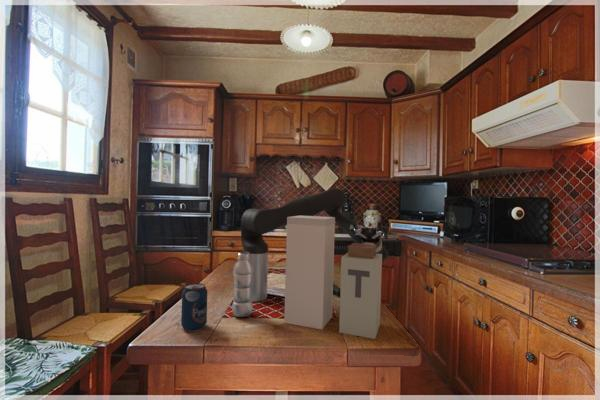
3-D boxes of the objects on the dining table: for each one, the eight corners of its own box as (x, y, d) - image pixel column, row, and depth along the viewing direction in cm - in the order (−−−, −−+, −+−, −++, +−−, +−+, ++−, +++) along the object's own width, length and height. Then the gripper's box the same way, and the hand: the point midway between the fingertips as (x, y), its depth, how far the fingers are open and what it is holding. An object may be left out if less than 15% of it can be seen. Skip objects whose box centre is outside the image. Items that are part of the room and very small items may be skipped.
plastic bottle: (235, 321, 98) (236, 255, 98) (229, 313, 104) (230, 251, 104) (255, 317, 101) (257, 254, 101) (248, 310, 107) (250, 250, 107)
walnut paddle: (359, 247, 109) (359, 238, 109) (380, 249, 107) (380, 240, 107) (347, 256, 93) (348, 246, 93) (372, 258, 90) (373, 248, 90)
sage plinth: (347, 319, 102) (349, 251, 102) (379, 324, 99) (382, 253, 98) (339, 332, 92) (341, 256, 92) (375, 339, 88) (377, 260, 88)
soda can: (197, 334, 88) (198, 290, 88) (175, 330, 90) (176, 287, 90) (211, 324, 95) (212, 283, 95) (191, 321, 97) (192, 281, 97)
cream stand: (297, 311, 108) (300, 215, 108) (332, 316, 104) (335, 217, 104) (284, 322, 98) (287, 217, 98) (322, 329, 94) (325, 219, 93)
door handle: (306, 293, 121) (346, 289, 125) (295, 279, 141) (330, 276, 144) (306, 302, 121) (347, 297, 125) (295, 287, 141) (330, 284, 145)
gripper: (355, 231, 136) (349, 212, 123) (390, 234, 130) (387, 215, 117) (353, 248, 132) (346, 230, 119) (389, 251, 127) (385, 233, 114)
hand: (366, 223), depth 118 cm, fingers open, 8 cm apart
